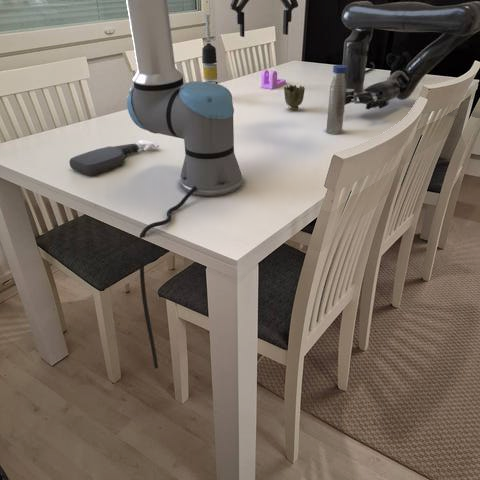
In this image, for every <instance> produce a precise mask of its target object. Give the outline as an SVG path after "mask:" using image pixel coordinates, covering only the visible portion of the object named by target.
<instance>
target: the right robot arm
mask: <svg viewBox="0 0 480 480" xmlns="http://www.w3.org/2000/svg"><path fill="white" fill-rule="evenodd" d="M341 21H342V23H343V25H344V26H345V27H346V28H347V29H349V30H352V31H351V34H350V35H349V36H348V37H347V38H346V39H345V40H344V42H343V53H342V54H343V55H342V64H341V65H345V66H348V67H347V73H345V76H344V77H345V80H346V98H345V106H346V105H348V104H352V103H354V104H355V105H360V104H362V105H365V110H370V109H376V108H379V109H384V108H385V107H387V106H389V105H390V101H392V100H394V99H397V100H399V101H404V100H407V99H408V98H410V97H411V96H412V95H413V93H414V92H415V90H416V88H417V87H418V85H419V83H420V82H421V80H423V78H424V77H425V76H426V75H427V74H428V73H429V72H430V71H432V70H433V68H435V66H437V65H438V64H439V63H440V62H441V61H442V60H443V59H444V58H445V57H446V56H448V55H449V54H450V53H451V52H453V50H455V48H457V47H458V46H459V45H461V44H462V43H463V42H465V41H466V40H468V39H469V38H470V37H472V36H473V35H475V34H476V33H477V32H480V1H478V0H475V1H467V2H463V3H460V4H453V5H442V6H435V5H432V4H428V3H425V2H419V1H397V2H389V3H383V4H373V3H372V2H371V1H368V0H361V1H354V2H351V3H349V4H347V5H345V7H344V9H343V11H342V13H341ZM374 29H377V30H384V31H391V32H400V33H427V32H428V33H429V32H432V33H433V32H434V33H441V35H440V36H439V37H438V38H437V39H435V40H434V41H432V42H431V43H430V44H429V45H427V46H425V48H424V49H422V50H421V51H420V52H419V53H418V54H417V55H416V56H415V57H414V58H413V59H411V60H412V61H411V62H410V63H409V64H408V63H407V65H406V67H405V68H406V72H407V75H408V77H407V76H406V75H405V73H403V72H402V70H399V71H396V72H394V73H393V74H391V75H390V74H389V76H388V78H387V79H386V80H384V81H379V82H376V83H374V84H370V85H368V86H366V88H365V90H364V84H365V76H366V73H369V72H371V71H372V70H374V69H375V68H376V65H375V64H374V62H373V61H370V62H369V66H372V67H371V68H368V69H366V68H367V63H368V62H367V61H368V52H369V46H370V43H371V40H372V38H373V32H374ZM408 78H409V79H408Z"/></svg>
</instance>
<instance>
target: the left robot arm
mask: <svg viewBox="0 0 480 480" xmlns="http://www.w3.org/2000/svg"><path fill="white" fill-rule="evenodd" d="M125 1H126V7H127V12H128V18H129V19H128V20H129V25H130V32H131V37H132V43H133V49H134V54H135V55H134V56H135V60H136V67H137V72H136V74H135V75H134V77H133V78H132V82H133V84H132V85H131V87H130V88H129V91H128V93H129V95H127V98H126V106H127V107H126V108H127V112H128V114H129V117H130V118H131V120H132V122H133V123H134V125H136V126H137V127H138V128H140V129H142V130H144V131H148V132H149V133H152V134H155V135H157V134H158V135H163V136H168V137H173V138H178V139H182V140H183V143H184V154H185V155H184V158H183V164H182V168H181V171H180V177H179V178H180V179H179V183H180V184H179V185H180V188H181V189H182V191H184V192H186V194H185V196H183V198H182V199H181V200H180V201H179V202H178V203H177V204H176V205H174V206H172V207H170V208H169V209H168V210H166V217H167V218H166V219H164V220H161V221H160V220H159V221H156V222H151V223H150V224H148V225H146V226H145V227H144V228H143V229H142V231H141V232H140V235H139V238H140V239H143V238H144V237H145V236H146V234H147V233H148V232H149V230H151V229H153V228H156V227H159V226H165V225H167V224H168V223H170V222H171V220H172V213H173V212H175V211H177V210H178V209H180V208H181V207H182V206H183V205H184V204H185V203H186V202H187V200H188V199H189V198H190V197H191V196H192V195H194V196H199V197H221V196H224V195H229V194H232V193H234V192H235V191H237V190H239V189H240V188H241V187H242V185H243V174H242V171H241V168H240V165H239V163H238V160H237V157H236V154H235V132H234V131H235V130H234V127H235V126H234V114H235V108H234V102H233V96H232V93H231V91H230V90H229V88H227V87H226V86H224V85H221V84H219V83H217V84H216V83H215V82H207V81H201V80H195V81H188V82H184V74H183V73H182V72H181V71H180V70H178V69H177V67H176V63H175V62H176V61H175V54H174V47H173V38H172V29H171V21H170V13H169V5H168V0H125ZM239 1H240V2H239ZM249 1H250V0H231V3H230V5H229V9H230V10H232V11H234V12H235V15H236V19H235V20H236V25H239V36H240V37H241V38H245V12H244V11H243V10H244V8H245V7H246V6H247V4H248V3H249ZM280 2H281V3H282V5H283V6H284V8H285V9H283V14H282V15H283V16H282V17H283V18H282V35H285V36H288V35H289V23H291V22H292V19H293V18H292V17H293V15H292V14H293V10H294V9H296V8H298V7H299V3H298V0H280ZM139 278H140V290H141V298H142V299H141V300H142V306H143V311H144V312H143V313H144V317H145V324H146V328H147V333H148V338H149V339H148V340H149V343H150V348H151V356H152V361H153V368H154V369H158V368H159V365H158V358H157V350H156V345H155V340H154V335H153V334H154V333H153V330H152V324H151V318H150V313H149V307H148V300H147V292H146V282H145V281H146V280H145V262H144V261H141V260H139Z"/></svg>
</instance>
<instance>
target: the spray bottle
mask: <svg viewBox="0 0 480 480" xmlns="http://www.w3.org/2000/svg"><path fill="white" fill-rule="evenodd" d="M159 148H160V145H159V144H158V143H155V142H151V141H148V140H144V139H139V140H138V141H137V142H135V143H129V144H128V143H126V144H122V145H113V146H105V147H100V148H97V149H94V150H90V151H87V152H83V153H81V154H78V155H74V156H73V157H70V159H69V161H68V162H69V167H70V168H71V169H72V170H74V171H75V172H78V173H81V174H83V175H85V176H89V177H90V176H91V177H92V176H95V175H99V174H102V173H105V172H107V171H110V170H113V169H116V168H118V167H120V166H122V165H123V164H124V163H125V158H126V156H127V155H131V154H133V153H138V151H140V150H143V151H144V152H146V151H147V150H149V149H159Z"/></svg>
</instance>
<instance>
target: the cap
mask: <svg viewBox="0 0 480 480" xmlns="http://www.w3.org/2000/svg"><path fill="white" fill-rule="evenodd" d="M347 67H348V66H345V65H342V64H335V65H333V66H332V72H333V74H335V73H338V74H343V73H347Z"/></svg>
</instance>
